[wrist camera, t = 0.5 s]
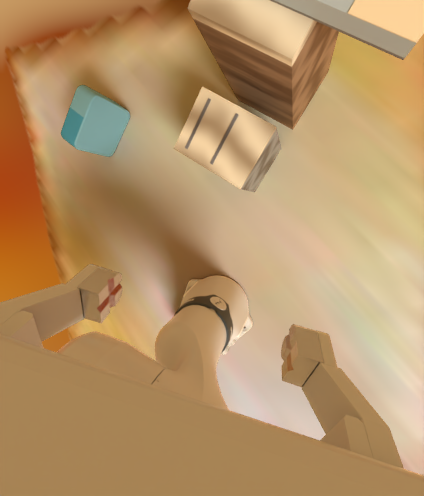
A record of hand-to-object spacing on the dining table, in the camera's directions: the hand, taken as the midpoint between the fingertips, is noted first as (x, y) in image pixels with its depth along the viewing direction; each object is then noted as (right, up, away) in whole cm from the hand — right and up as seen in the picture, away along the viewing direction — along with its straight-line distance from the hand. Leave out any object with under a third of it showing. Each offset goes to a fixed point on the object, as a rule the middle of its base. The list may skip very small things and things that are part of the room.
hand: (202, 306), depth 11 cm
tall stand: (+14, +34, +37) cm, 52 cm away
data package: (-24, +32, +50) cm, 64 cm away
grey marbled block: (+7, +23, +41) cm, 48 cm away
